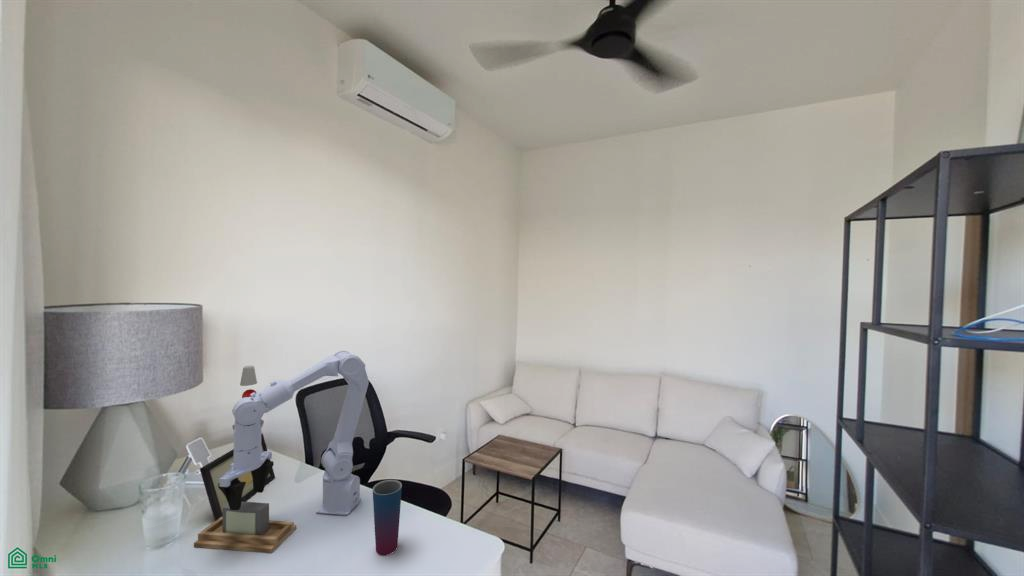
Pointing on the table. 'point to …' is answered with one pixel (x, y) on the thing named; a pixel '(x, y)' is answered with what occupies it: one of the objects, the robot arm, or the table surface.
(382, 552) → the cup
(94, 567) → the table surface
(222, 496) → the picture frame
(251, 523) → the grey rectangular prism
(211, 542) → the wooden tray
